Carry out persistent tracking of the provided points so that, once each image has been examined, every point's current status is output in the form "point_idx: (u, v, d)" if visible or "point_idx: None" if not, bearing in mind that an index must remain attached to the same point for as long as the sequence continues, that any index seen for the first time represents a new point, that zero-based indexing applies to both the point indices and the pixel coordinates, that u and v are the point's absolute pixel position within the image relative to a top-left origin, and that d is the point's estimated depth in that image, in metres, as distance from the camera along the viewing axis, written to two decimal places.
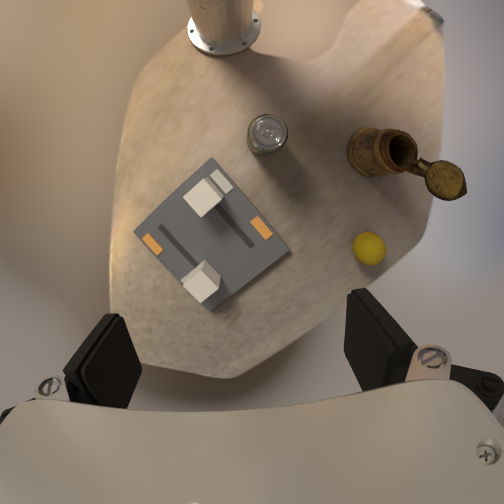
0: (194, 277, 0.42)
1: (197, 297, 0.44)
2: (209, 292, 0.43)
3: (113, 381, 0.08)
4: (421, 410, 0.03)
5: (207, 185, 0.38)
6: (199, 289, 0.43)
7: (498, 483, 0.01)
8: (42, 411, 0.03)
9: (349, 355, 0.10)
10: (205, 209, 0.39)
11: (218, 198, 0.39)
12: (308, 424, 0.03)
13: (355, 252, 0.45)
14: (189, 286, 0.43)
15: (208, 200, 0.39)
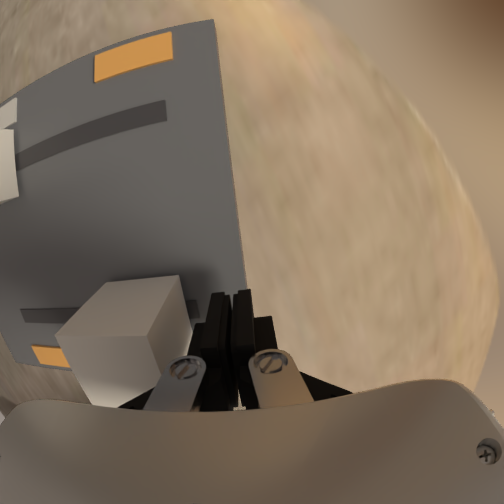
0: None
1: None
2: None
3: None
4: (421, 410, 0.03)
5: None
6: None
7: (498, 483, 0.01)
8: (42, 411, 0.04)
9: None
10: (74, 363, 0.08)
11: None
12: (308, 424, 0.03)
13: None
14: None
15: (102, 387, 0.09)
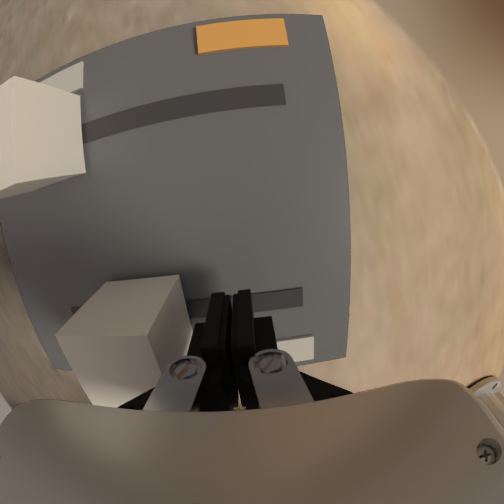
0: (8, 139, 0.06)
1: None
2: None
3: None
4: (421, 410, 0.03)
5: None
6: None
7: (498, 483, 0.01)
8: (42, 411, 0.03)
9: None
10: (75, 363, 0.08)
11: None
12: (309, 425, 0.03)
13: None
14: None
15: (102, 387, 0.09)
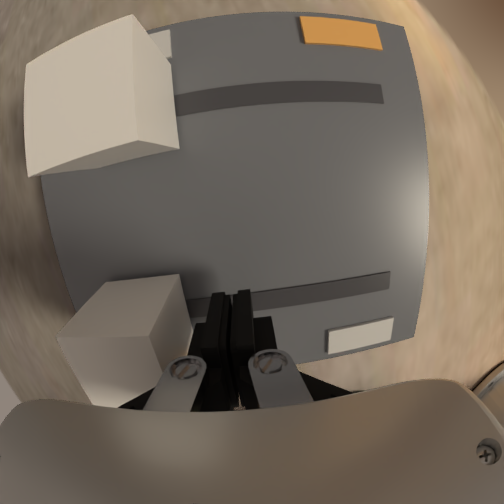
0: (126, 84, 0.06)
1: (47, 59, 0.05)
2: (32, 123, 0.06)
3: None
4: (421, 410, 0.03)
5: None
6: (65, 85, 0.05)
7: (498, 483, 0.01)
8: (42, 411, 0.03)
9: None
10: (75, 365, 0.08)
11: None
12: (309, 425, 0.03)
13: None
14: (106, 40, 0.05)
15: (104, 388, 0.09)
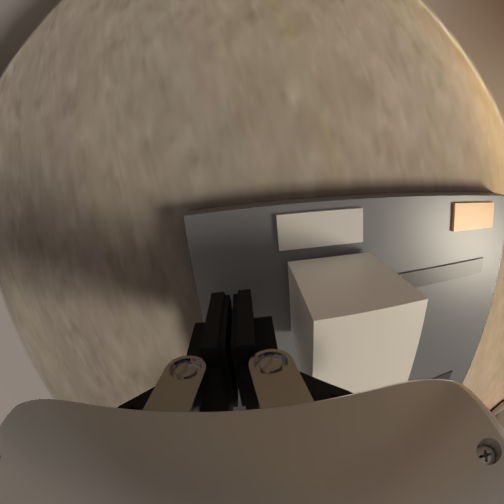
0: (410, 356, 0.08)
1: (346, 325, 0.08)
2: (324, 377, 0.08)
3: None
4: (421, 410, 0.03)
5: None
6: (365, 354, 0.08)
7: (498, 483, 0.01)
8: (42, 411, 0.03)
9: None
10: None
11: None
12: (309, 424, 0.03)
13: None
14: (406, 321, 0.08)
15: None
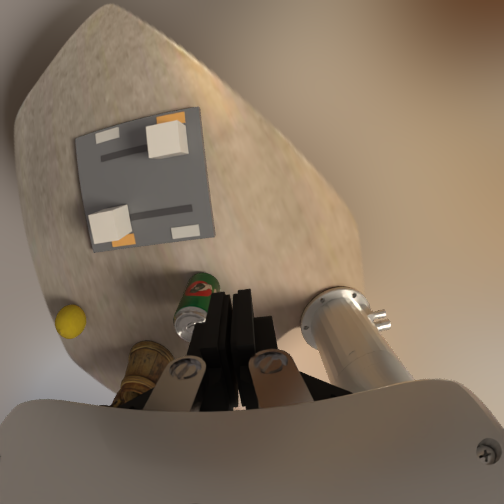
0: (177, 139, 0.30)
1: (153, 127, 0.29)
2: (150, 144, 0.30)
3: None
4: (421, 410, 0.03)
5: (111, 239, 0.33)
6: (161, 136, 0.30)
7: (498, 483, 0.01)
8: (42, 411, 0.03)
9: None
10: (92, 224, 0.32)
11: (96, 241, 0.33)
12: (308, 424, 0.03)
13: (70, 309, 0.39)
14: (171, 126, 0.29)
15: (98, 231, 0.33)
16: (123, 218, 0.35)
